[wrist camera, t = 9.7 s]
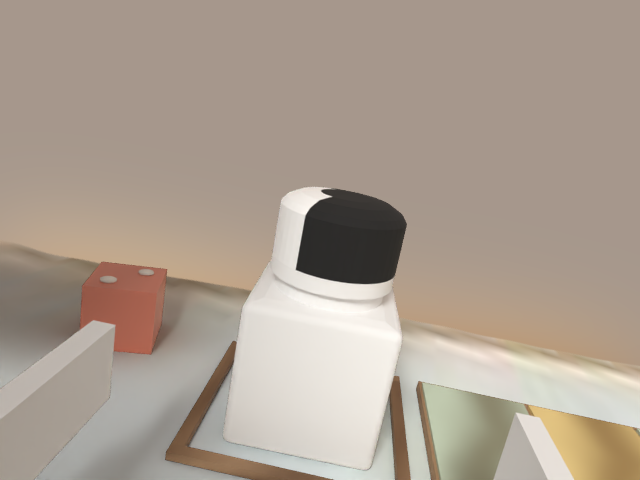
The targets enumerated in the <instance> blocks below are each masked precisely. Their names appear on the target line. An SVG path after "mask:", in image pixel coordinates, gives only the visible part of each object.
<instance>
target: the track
mask: <svg viewBox="0 0 640 480" xmlns="http://www.w3.org/2000/svg"><path fill="white" fill-rule="evenodd" d="M416 391H417V397H418V403H419V409H420V415H421V421H422V427H423V432H424V438H425V444H426V450H427V456H428V462H429V468H430V474H431V480H493V479H494V476H495V473H496V470H497V467H498V464H499V461H500V458H501V455H502V452H503V449H504V446H505V443H506V440H507V437H508V434H509V431H510V428H511V425H512V422H513V419H514V416H515V413H521V414H525V415H530V416H534V417H539V418H540V419H541V420H542V422H543V424H544V426H545V428H546V430H547V431H548V433H549V435H550V437H551V439H552V440H553V442H554V444H555V446H556V448H557V449H558V451H559V453H560V455H561V457H562V459H563V460H564V462H565V464H566V466H567V468H568V469H569V471H570V473H571V475H572V477H573V478H574V480H640V429H639V428H634V427H629V426H625V425H620V424H615V423H611V422H606V421H601V420H597V419H592V418H588V417H583V416H578V415H574V414H569V413H564V412H560V411H555V410H550V409H546V408H541V407H536V406H532V405H527V404H522V403H518V402H513V401H509V400H504V399H499V398H495V397H490V396H485V395H481V394H476V393H471V392H467V391H462V390H457V389H453V388H448V387H443V386H439V385H434V384H430V383H425V382H420V381H418V385H417V389H416Z"/></svg>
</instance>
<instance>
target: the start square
mask: <svg viewBox="0 0 640 480" xmlns="http://www.w3.org/2000/svg"><path fill="white" fill-rule="evenodd" d="M236 344H237V342H236V341H233V342H232V343H231V345H230V347H229V348H228V350H227V352H226V353H225V355H224V357H223V358H222V360H221V362H220V363H219V365H218V367H217V368H216V370H215V372H214V373H213V375H212V377H211V378H210V380H209V382H208V383H207V385H206V387H205V388H204V390H203V392H202V393H201V395H200V397H199V398H198V400H197V402H196V403H195V405H194V407H193V408H192V410H191V411H190V413H189V415H188V416H187V418H186V420H185V421H184V423H183V425H182V426H181V428H180V430H179V431H178V433H177V435H176V436H175V438H174V440H173V441H172V443H171V445H170V446H169V448H168V450H167V451H166V457H165V460H169V461H173V462H178V463H182V464H186V465H191V466H195V467H200V468H204V469H208V470H213V471H217V472H221V473H226V474H230V475H235V476H239V477H243V478H248V479H252V480H333V479H328V478H324V477H319V476H315V475H310V474H306V473H302V472H297V471H293V470H288V469H284V468H280V467H275V466H271V465H266V464H262V463H258V462H253V461H249V460H244V459H240V458H236V457H231V456H227V455H222V454H218V453H213V452H209V451H205V450H200V449H196V448H191V447H187V446H188V445H189V443H190V441H191V439H192V437H193V436H194V434H195V432H196V430H197V428H198V426H199V425H200V423H201V421H202V419H203V417H204V415H205V414H206V412H207V410H208V408H209V406H210V405H211V403H212V401H213V399H214V397H215V395H216V394H217V392H218V390H219V388H220V386H221V384H222V383H223V381H224V379H225V377H226V375H227V373H228V372H229V370H230V368H231V366H232V364H233V363H234V357H235V350H236ZM389 396H390V410H391V425H392V439H393V454H394V468H395V480H411V479H410V470H409V461H408V452H407V443H406V434H405V425H404V416H403V407H402V398H401V389H400V380H399V377H398V376H394V378H393V382H392V386H391V390H390V394H389Z"/></svg>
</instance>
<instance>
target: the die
mask: <svg viewBox="0 0 640 480" xmlns="http://www.w3.org/2000/svg"><path fill="white" fill-rule="evenodd" d="M166 275H167V269H161V268H152V267H142V266H135V265H126V264H117V263H109V262H101V263H100V265H99V266H98V267H97V268H96V269H95V271H94V272H93V273H92V274H91V276H90V277H89V278H88V279H87V280H86V282H85V283H84V284H83V285H82V301H81V319H80V330H81V329H82V328H83V327H85V326H86V325H87V324H89V323H90V322H91V321H93V320H95V321H100V322H104V323H109V324H113V325H116V326H115V338H114V351H117V352H129V353H141V354H151V352H152V350H153V347H154V344H155V341H156V338H157V335H158V332H159V329H160V327H161V323H162V313H163V304H164V294H165V284H166Z"/></svg>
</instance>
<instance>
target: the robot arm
mask: <svg viewBox="0 0 640 480" xmlns="http://www.w3.org/2000/svg"><path fill="white" fill-rule="evenodd" d="M115 326H116V325H113V324H109V323H104V322H100V321H95V320H93V321H91V322H90V323H89V324H87V325H86V326H85V327H83V328H82V329H81V330H79V331H78V332H77V333H75V334H74V335H72V336H71V337H70V338H68V339H67V340H66V341H64V342H63V343H62V344H60V345H59V346H58V347H56V348H55V349H54V350H52V351H51V352H49V353H48V354H47V355H45V356H44V357H43V358H41V359H40V360H39V361H37V362H36V363H35V364H33V365H32V366H31V367H29V368H28V369H26V370H25V371H24V372H22V373H21V374H20V375H18V376H17V377H16V378H14V379H13V380H12V381H10V382H9V383H7V384H6V385H5V386H3V387H2V388H1V389H0V480H34V479H35V478H36V477H37V476H38V475H39V474H40V473H41V472H42V470H43V469H44V468H45V467H46V466H47V465H48V464H49V463H50V462H51V461H52V460H53V459H54V457H55V456H56V455H57V454H58V453H59V452H60V451H61V450H62V449H63V448H64V447H65V446H66V445H67V443H68V442H69V441H70V440H71V439H72V438H73V437H74V436H75V435H76V434H77V433H78V432H79V430H80V429H81V428H82V427H83V426H84V425H85V424H86V423H87V422H88V421H89V420H90V419H91V417H92V416H93V415H94V414H95V413H96V412H97V411H98V410H99V409H100V408H101V407H102V406H103V405H104V403H105V402H106V401H107V400H108V399H109V398H110V388H111V375H112V363H113V351H114V338H115ZM493 480H574V478H573V477H572V475H571V473H570V471H569V469H568V468H567V466H566V464H565V462H564V460H563V459H562V457H561V455H560V453H559V451H558V449H557V448H556V446H555V444H554V442H553V440H552V439H551V437H550V435H549V433H548V431H547V430H546V428H545V426H544V424H543V422H542V420H541V419H540V418H539V417H534V416H530V415H525V414H521V413H515V416H514V419H513V422H512V425H511V428H510V431H509V434H508V437H507V440H506V443H505V446H504V449H503V452H502V455H501V458H500V461H499V464H498V467H497V470H496V473H495V476H494V479H493Z"/></svg>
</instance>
